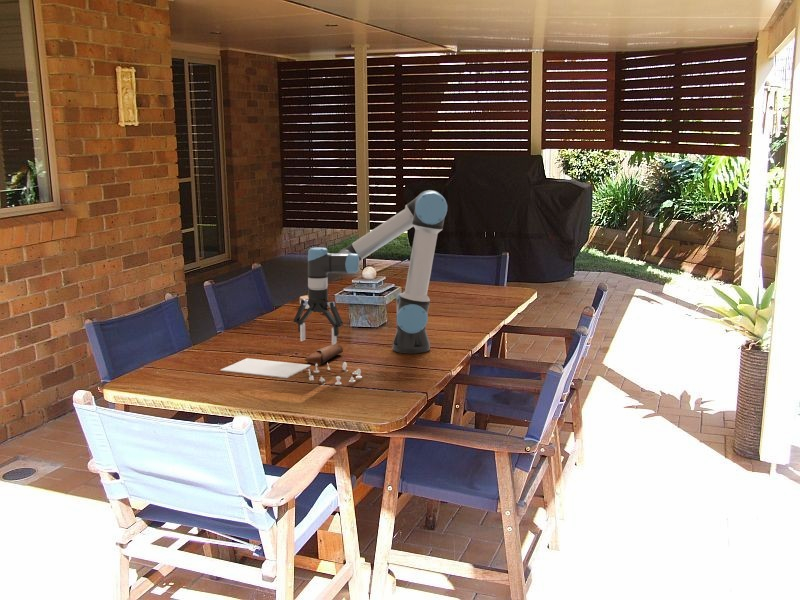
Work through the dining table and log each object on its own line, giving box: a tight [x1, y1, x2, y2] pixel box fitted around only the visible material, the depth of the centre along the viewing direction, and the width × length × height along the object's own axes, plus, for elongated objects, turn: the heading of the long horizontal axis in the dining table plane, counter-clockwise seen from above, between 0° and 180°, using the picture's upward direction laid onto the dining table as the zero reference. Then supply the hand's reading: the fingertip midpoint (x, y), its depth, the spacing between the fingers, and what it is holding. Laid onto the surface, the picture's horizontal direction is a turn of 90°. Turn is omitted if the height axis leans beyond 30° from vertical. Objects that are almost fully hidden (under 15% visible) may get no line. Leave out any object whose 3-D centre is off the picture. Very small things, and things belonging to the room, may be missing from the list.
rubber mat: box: [220, 357, 312, 379], centre depth 313 cm, size 28×18×1 cm, turn 68°
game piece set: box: [307, 361, 363, 385], centre depth 302 cm, size 19×20×4 cm
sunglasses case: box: [304, 344, 344, 366], centre depth 325 cm, size 18×7×7 cm
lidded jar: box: [299, 294, 309, 310], centre depth 414 cm, size 11×11×9 cm
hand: (318, 342), depth 325 cm, fingers open, 13 cm apart
